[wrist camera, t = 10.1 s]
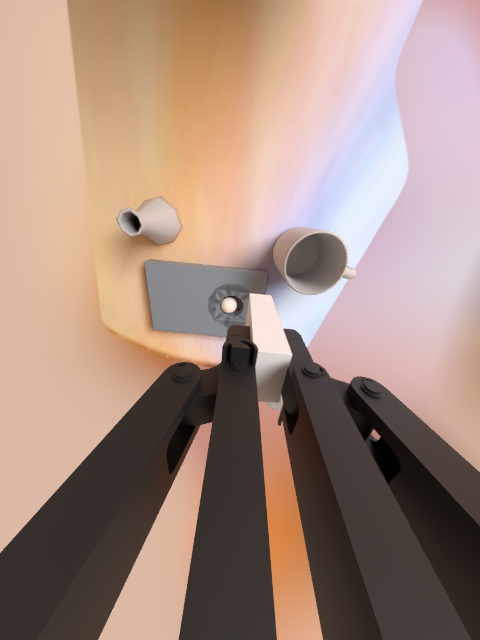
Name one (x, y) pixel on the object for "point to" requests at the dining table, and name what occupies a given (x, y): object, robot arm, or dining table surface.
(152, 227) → the flask
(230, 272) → the plate
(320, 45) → the dining table surface
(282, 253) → the mug
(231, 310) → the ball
